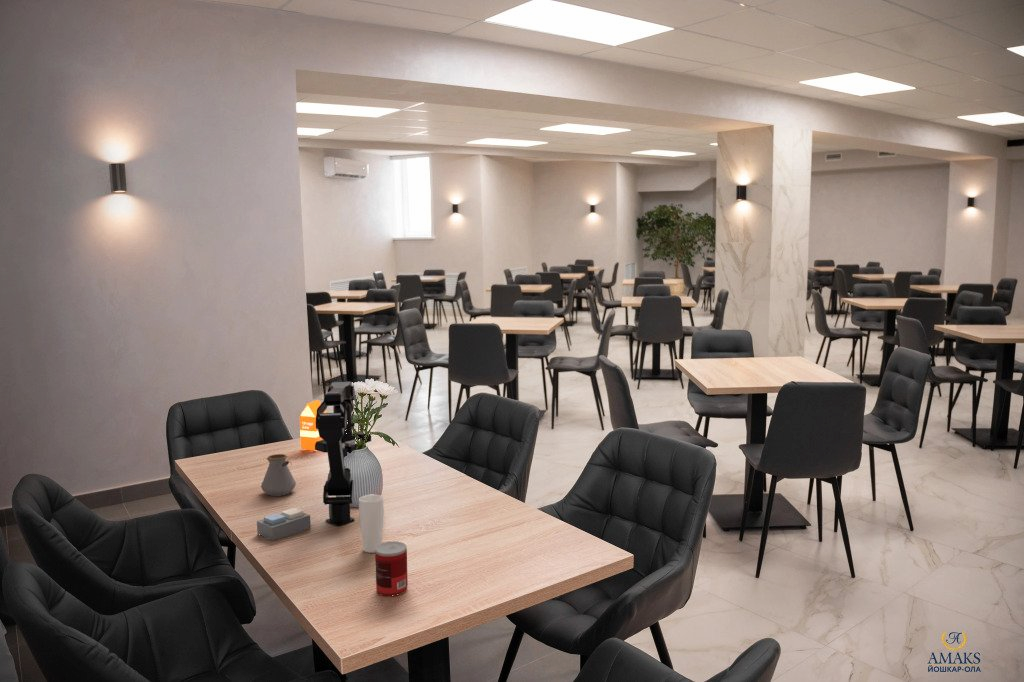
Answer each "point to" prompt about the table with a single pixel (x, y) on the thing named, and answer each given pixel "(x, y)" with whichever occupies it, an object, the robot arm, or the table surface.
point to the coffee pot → (278, 476)
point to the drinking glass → (371, 521)
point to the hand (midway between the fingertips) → (344, 467)
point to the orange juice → (309, 426)
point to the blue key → (274, 519)
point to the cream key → (292, 513)
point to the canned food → (391, 568)
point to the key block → (283, 527)
